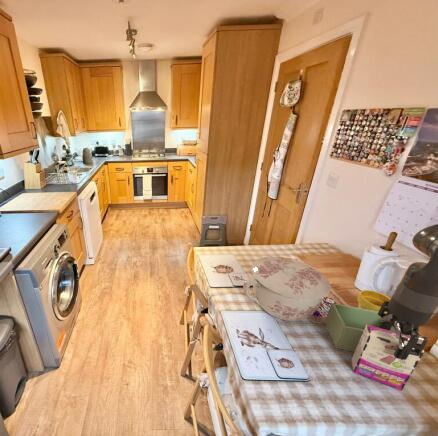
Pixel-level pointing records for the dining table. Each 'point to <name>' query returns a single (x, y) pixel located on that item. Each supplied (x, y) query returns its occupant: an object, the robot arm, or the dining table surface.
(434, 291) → the robot arm
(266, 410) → the dining table surface
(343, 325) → the bin
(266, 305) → the chamber pot
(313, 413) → the dining table surface
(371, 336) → the candy bar box
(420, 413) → the dining table surface
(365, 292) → the flower pot
